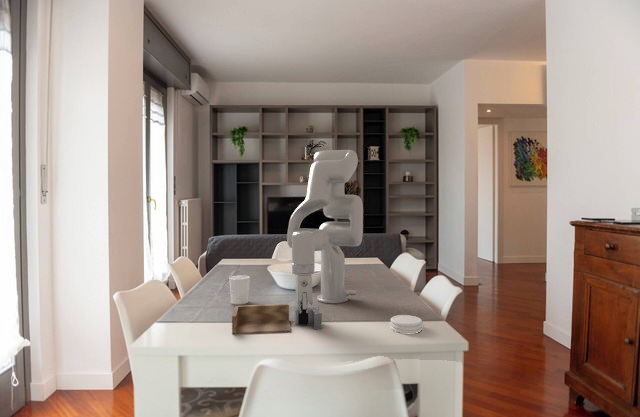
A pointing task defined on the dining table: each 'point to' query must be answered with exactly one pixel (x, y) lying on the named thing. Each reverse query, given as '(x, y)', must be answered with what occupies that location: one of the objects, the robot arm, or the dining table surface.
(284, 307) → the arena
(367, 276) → the dining table surface
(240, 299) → the white cup
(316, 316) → the bracket
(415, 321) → the coaster
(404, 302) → the dining table surface
